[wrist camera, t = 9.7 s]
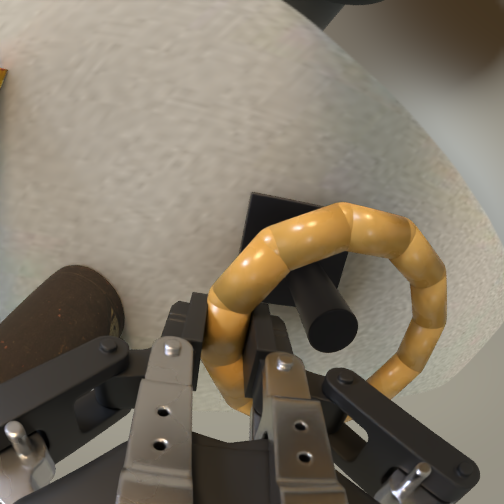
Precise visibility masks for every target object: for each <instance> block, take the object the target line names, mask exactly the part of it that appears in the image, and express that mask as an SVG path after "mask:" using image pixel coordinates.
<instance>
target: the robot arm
mask: <svg viewBox="0 0 504 504" xmlns="http://www.w3.org/2000/svg"><path fill="white" fill-rule="evenodd" d="M207 298H208V294H202V293H196V292H193V293H192V297H191V300H190V303H187V302H182V301H178V302H177V303H175V304H174V305H172V307H171V310H170V312H169V315H168V318H167V321H166V324H165V327H164V330H163V333H162V336H161V337H160V338H158V339H156V340H155V341H154V342H153V345H152V347H151V348H148V349H143V350H129V346H128V344H127V343H126V342H125V341H124V340H123V339H121V338H118V337H115V336H100V337H97V338H95V339H93V340H91V341H89V342H87V343H85V344H82V345H80V346H78V347H76V348H74V349H72V350H70V351H68V352H66V353H64V354H62V355H60V356H58V357H56V358H53V359H51V360H49V361H47V362H45V363H43V364H41V365H39V366H37V367H35V368H33V369H31V370H28V371H26V372H24V373H22V374H20V375H18V376H16V377H14V378H12V379H10V380H7V381H5V382H3V383H1V384H0V503H1V504H455V503H456V502H457V501H458V500H460V499H461V498H462V497H463V496H464V495H465V494H466V493H468V492H469V491H470V490H471V489H472V488H473V487H474V486H475V485H476V484H477V483H478V481H479V479H480V471H479V468H478V466H477V465H476V463H475V462H474V461H472V460H471V459H470V458H468V457H467V456H466V455H464V454H463V453H461V452H460V451H459V450H457V449H456V448H455V447H453V446H452V445H450V444H449V443H448V442H446V441H445V440H443V439H442V438H441V437H439V436H438V435H437V434H435V433H434V432H433V431H431V430H430V429H428V428H427V427H426V426H425V425H423V424H422V423H420V422H419V421H418V420H416V419H415V418H414V417H412V416H411V415H409V414H408V413H407V412H406V411H404V410H403V409H402V408H401V407H399V406H398V405H397V404H395V403H394V402H392V401H391V400H390V399H389V398H387V397H386V396H385V395H383V394H382V393H381V392H380V391H378V390H377V389H376V388H374V387H373V386H372V385H370V384H369V383H368V382H367V381H365V380H364V379H363V378H361V377H360V376H359V375H358V374H356V373H355V372H353V371H351V370H348V369H345V368H333V369H331V370H329V371H328V372H327V374H326V376H322V375H318V374H315V373H312V372H309V371H307V370H305V367H304V363H303V362H302V360H301V359H300V358H298V357H297V356H295V355H293V351H292V347H291V344H290V340H289V337H288V333H287V330H286V326H285V323H284V322H283V321H282V320H281V319H280V318H279V317H278V316H273V315H270V311H269V306H268V304H267V303H260V304H259V305H258V306H257V307H256V308H255V309H254V310H253V311H252V315H251V319H250V324H249V328H248V332H247V337H246V341H245V345H244V350H243V354H242V358H243V377H244V396H245V398H252V399H253V404H252V407H251V410H250V437H249V441H244V442H234V443H227V442H223V441H220V440H217V439H213V438H210V437H207V436H204V435H201V434H198V433H195V432H192V398H193V391H196V388H197V380H198V373H199V365H200V358H201V351H202V344H203V336H204V329H205V322H206V315H207V308H208V303H207ZM92 389H94V390H92ZM90 390H92V391H91V392H89V391H90ZM87 392H89V393H87ZM85 393H87V394H86V395H84V394H85ZM82 395H84V396H82ZM81 396H82V397H81ZM79 397H81V398H79ZM78 398H79V399H78ZM132 408H133V409H134V414H133V419H132V424H131V430H130V435H129V440H128V441H126V442H124V443H122V444H120V445H118V446H117V447H115V448H113V449H112V450H110V451H108V452H107V453H105V454H103V455H102V456H100V457H98V458H96V459H95V460H93V461H91V462H89V463H88V464H86V465H84V466H82V467H80V468H79V469H77V470H75V471H73V472H71V473H69V474H67V475H66V476H64V477H62V478H60V479H58V480H56V481H54V482H52V483H51V484H49V483H50V481H51V480H52V479H53V477H54V475H55V469H56V468H55V464H56V463H58V462H59V461H61V460H62V459H64V458H65V457H67V456H68V455H70V454H71V453H73V452H74V451H76V450H77V449H79V448H80V447H82V446H83V445H85V444H86V443H87V442H89V441H90V440H92V439H93V438H95V437H96V436H97V435H99V434H100V433H102V432H103V431H105V430H106V429H108V427H110V426H112V425H113V424H115V423H116V422H117V421H118V420H120V419H121V418H123V417H124V416H126V415H127V414H128V413H129V412H130V410H131V409H132ZM347 416H349V417H351V418H352V419H353V420H354V421H355V422H356V423H358V424H359V425H360V426H361V427H362V428H364V429H365V430H366V432H367V434H368V442H366V441H365V440H363V439H362V438H361V437H360V436H359V435H358V434H356V433H355V432H354V431H353V430H352V429H351V428H350V427H348V426H347V425H346V424H345V423H344V421H345V419H346V418H347ZM334 463H335V464H336V465H337V466H338V467H339V468H340V469H341V470H343V472H345V473H346V474H347V475H348V476H349V477H350V478H351V479H352V480H353V481H354V482H356V483H357V484H358V485H359V486H360V487H361V488H362V489H363V490H364V491H363V490H362V489H360V488H359V487H358V486H356V485H355V484H354V483H352V482H351V481H350V480H349V479H347V478H346V477H345V476H343V475H342V474H341V473H339V472H338V471H337V470H335V468H334ZM367 493H368V494H367Z"/></svg>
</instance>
